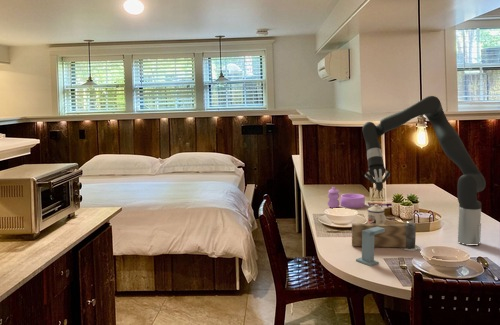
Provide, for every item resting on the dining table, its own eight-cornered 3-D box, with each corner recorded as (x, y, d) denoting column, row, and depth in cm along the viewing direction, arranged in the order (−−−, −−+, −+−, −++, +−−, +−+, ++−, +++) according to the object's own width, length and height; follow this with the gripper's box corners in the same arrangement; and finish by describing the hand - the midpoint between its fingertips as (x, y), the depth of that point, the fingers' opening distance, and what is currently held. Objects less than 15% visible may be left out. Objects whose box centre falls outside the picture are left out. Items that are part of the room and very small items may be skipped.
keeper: (373, 255, 196) (373, 225, 195) (388, 259, 190) (388, 229, 188) (355, 260, 190) (356, 230, 188) (370, 266, 183) (371, 234, 182)
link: (414, 244, 207) (414, 224, 206) (416, 248, 202) (416, 227, 201) (351, 243, 212) (351, 222, 211) (352, 246, 207) (352, 225, 206)
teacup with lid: (363, 224, 245) (364, 204, 244) (376, 222, 249) (376, 202, 247) (378, 229, 234) (379, 208, 233) (391, 227, 238) (392, 206, 237)
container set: (357, 202, 301) (357, 183, 299) (369, 207, 286) (369, 186, 284) (323, 205, 294) (323, 185, 292) (333, 210, 280) (333, 189, 278)
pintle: (417, 244, 209) (418, 219, 207) (421, 250, 200) (422, 224, 199) (397, 244, 210) (398, 219, 209) (401, 250, 202) (401, 224, 200)
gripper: (387, 161, 228) (392, 192, 220) (361, 162, 229) (365, 194, 222) (389, 154, 221) (395, 186, 214) (362, 156, 223) (367, 188, 215)
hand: (380, 190), depth 218 cm, fingers closed
